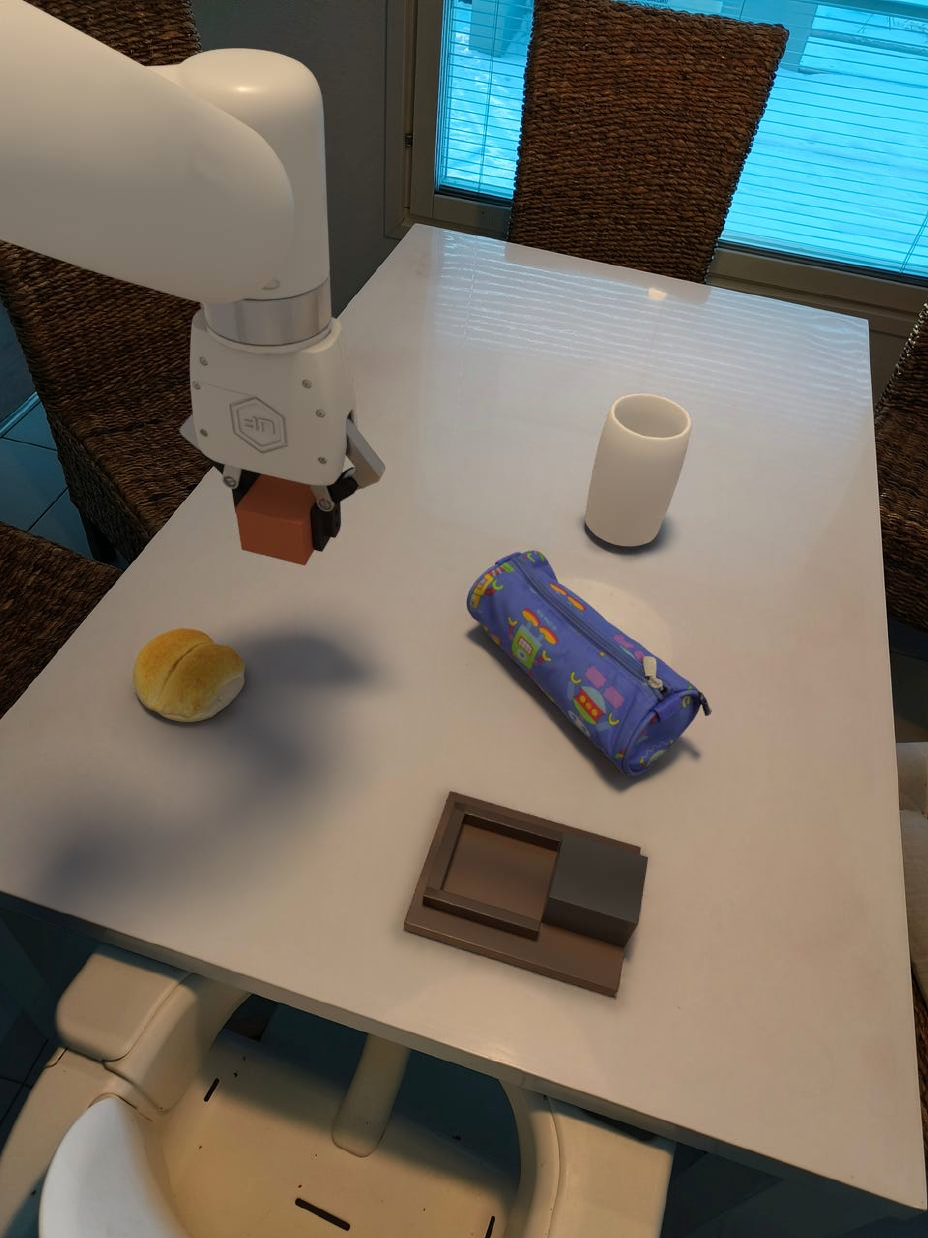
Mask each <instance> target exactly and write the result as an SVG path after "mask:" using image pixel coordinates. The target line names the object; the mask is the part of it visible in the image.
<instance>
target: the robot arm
mask: <svg viewBox="0 0 928 1238" xmlns="http://www.w3.org/2000/svg"><path fill="white" fill-rule="evenodd" d="M323 101H324V100H323V95H322V92H321V87H320V85H319V83H318V81H317V78H316V77H315V75H314V73H313V72H312V71H311V70H310V69H309V68H308V67H307V66H306V65H305V64H303V62H300V61H299V60H297V59H294V58H293V57H289V56H287V55H285V54H281V53H278V52H274V51H270V50H263V49H255V48H242V47H241V48H239V47H238V48H237V47H235V48H218V49H211V50H207V51H203V52H200V53H197V54H195V55H192V56H189V57H187V58H186V59H184V60H183V61H182V62H180V63H178V64H167V65H143V64H141V63H140V62H138V61H136V60H134V59H132V58H131V57H129V56H127V55H125V54H123V53H121V52H120V51H117V50H116V49H114V48H112V47H110V46H108V45H106V44H105V43H103V42H101V41H99V40H98V39H96V38H94V37H92V36H90V35H88V34H86V33H85V32H83V31H81V30H79V29H77V28H75V27H73V26H71V25H70V24H68V23H66V22H64V21H62V20H60V19H59V18H57V17H55V16H52V15H51V14H49V13H48V12H45V11H44V10H42V9H40V8H38V7H36V6H34V5H32V4H30V3H28V2H27V1H24V0H0V241H2V242H7V243H9V244H11V245H15V246H18V247H21V248H24V249H27V250H29V251H32V252H36V253H38V254H40V255H44V256H47V257H50V258H53V259H56V260H59V261H61V262H64V263H67V264H70V265H73V266H76V267H79V268H82V269H84V270H85V269H86V270H87V271H92V272H94V273H97V274H101V275H104V276H107V277H111V278H114V279H117V280H121V281H122V282H123V281H124V282H126V283H130V284H134V285H137V286H140V287H144V288H148V289H151V290H154V291H158V292H160V293H164V294H168V295H171V296H175V297H178V298H182V299H184V300H189V301H193V302H198V303H199V305H200V310H198V311H197V312H196V313H195V314H194V315H193V317H192V320H191V330H190V344H189V345H190V347H189V381H190V382H189V383H190V394H191V395H190V399H191V408H192V413H191V414H190V416H189V417H188V418H187V419H186V420H185V422H183V424H182V425H181V426H180V427H179V434H180V435H181V437H183V438H184V439H185V440H187V441H188V442H189V443H190V444H191V445H192V446H194V447H195V448H196V449H197V450H198V451H200V452H201V453H203V457H204V458H205V459H206V460H207V462H209V463H210V464H211V465H212V466H213V467H214V468H215V469H216V470H217V471H218V472H219V473H220V474H221V475H222V477H221V478H222V479H221V480H222V483H223V484H224V486H225V487H227V488H228V489H231V494H232V495H231V496H232V501H233V509H234V513H235V514H236V509H235V508H236V506H237V505H238V504H239V502H240V501H241V500H242V498H243V497H244V496H245V495H246V494H247V492H248V491H249V490H250V488H251V487H252V485H253V484H254V483H255V481H256V480H257V479H258V477H259V476H260V474H261V473H262V474H266V475H270V476H274V477H278V478H283V479H287V480H291V481H295V482H300V483H304V484H309V485H310V488H311V490H312V493H313V496H314V498H315V503H314V504H313V506H312V507H311V510H310V517H311V531H312V545H313V548H314V551H317V552H319V553H320V552H321V553H322V552H323V551H324V550H325V548H326V547H327V545H328V543H329V541H330V539H331V538H333V539H335V538H337V536H338V534H339V533H340V530H341V526H342V511H341V507H342V506H341V502H342V501H344V500H346V499H348V498H350V497H351V496H353V495H354V494H355V493H356V491H359V490H363V489H365V488H368V487H370V486H372V485H374V484H376V483H378V482H379V481H380V480H381V478H382V476H383V475H384V473H385V471H386V465H385V463H384V462H383V460H382V459H381V458H380V457H379V455H378V454H377V453H376V451H375V450H374V449H373V448H372V446H371V445H370V444H369V442H368V441H367V439H366V438H365V437H364V435H363V434H362V433H361V431H359V425H358V424H359V423H358V411H357V398H356V389H355V383H354V375H353V369H352V363H351V360H350V353H349V349H348V345H347V342H346V338H345V334H344V330H343V327H342V324H341V320H339V319H337V318H335V317H334V316H332V295H331V271H330V269H331V267H330V266H331V265H330V247H329V246H330V245H329V243H330V242H329V221H328V201H327V200H328V197H327V196H328V195H327V169H326V168H327V167H326V165H327V164H326V142H325V141H326V140H325V113H324V102H323ZM346 458H347V459H348V460H349V461H350V462H351V464H352V465H353V466H351V467H348V468H347V469H345V470H344V467H345V461H346ZM343 470H344V471H343Z"/></svg>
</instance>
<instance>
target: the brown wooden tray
mask: <svg viewBox="0 0 928 1238" xmlns="http://www.w3.org/2000/svg"><path fill="white" fill-rule="evenodd" d="M446 798H447V799H446V801H445V804H444V806H443V810H442V812H441V816H440V817H439V820H438V823H437V827H436V830H435V832H434V834H433V838H432V841H431V844H430V847H429V850H428V852H427V855H426V858H425V861H424V863H423V866H422V870H421V873H420V875H419V878H418V881H417V883H416V887H415V889H414V892H413V895H412V897H411V901H410V904H409V907H408V909H407V911H406V915H405V918H404V920H403V930H404V931H408V932H410V933H413V934H417V935H419V936H423V937H426V938H429V939H432V940H435V941H437V942H438V941H439V942H442V943H444V944H448V945H451V946H454V947H457V948H460V949H463V950H466V951H469V952H472V953H475V954H478V955H482V956H485V957H488V958H492V959H495V960H498V961H501V962H504V963H507V964H510V965H512V966H516V967H519V968H523V969H525V970H528V971H532V972H535V973H538V974H541V975H544V976H548V977H550V978H553V979H557V980H559V981H563V982H566V983H569V984H572V985H575V986H578V987H581V988H585V989H588V990H591V991H594V992H597V993H601V994H604V995H607V996H609V997H616V995H617V993H618V992H619V989H620V983H621V982H620V981H621V975H622V970H623V963H624V958H625V950H626V947H627V945H628V943H629V941H630V940H631V938H632V936H633V935H634V932H635V930H636V929H637V927H638V925H639V922H640V915H641V908H642V902H643V895H644V889H645V882H646V875H647V869H648V863H649V857H648V856H646V855H643V854H641V851H642V847H641V846H638V845H635V844H632V843H628V842H624V841H622V840H617V839H615V838H611V837H609V836H604V835H601V834H598V833H595V832H592V831H587V830H584V829H581V828H577V827H575V826H571V825H567V824H564V823H561V822H557V821H553V820H551V819H547V818H543V817H541V816H540V817H539V816H537V815H534V814H530V813H526V812H523V811H520V810H516V809H513V808H511V807H510V808H509V807H506V806H503V805H499V804H496V803H492V802H489V801H486V800H482V799H479V798H475V797H472V796H469V795H466V794H461V793H458V792H455V791H452V790H450V791H449V792H448V795H447V797H446Z"/></svg>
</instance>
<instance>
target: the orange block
mask: <svg viewBox="0 0 928 1238" xmlns="http://www.w3.org/2000/svg"><path fill="white" fill-rule="evenodd" d="M314 503H315V498H314V496H313V493H312V490H311V488H310V485H309V484H304V483H300V482H295V481H291V480H287V479H283V478H278V477H274V476H270V475H266V474H262V473H261V474H260V476H259V477H258V479H257V480H256V481H255V483H254V484H253V485H252V487H251V488H250V490H249V491H248V492H247V494H246V495H245V496H244V497H243V498H242V500H241V501H240V502H239V504H238V505H237V506H236V508H234V510H235V509H236V513H235V514H236V515H235V516H236V521H237V528H238V533H239V534H238V535H239V540H240V548H241V550H242V551H245V552H249V553H253V554H257V555H260V556H265V557H267V558H273V559H276V560H280V561H285V562H287V563H288V562H289V563H293V564H297V565H301V566H304V567H305V566H306V565H307V564H308V562H309V560H310V558H311V557H312V555H313V553H314V552H315V550H314V548H313V545H312V531H311V517H310V510H311V507H312V506H313V504H314Z"/></svg>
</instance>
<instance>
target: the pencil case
mask: <svg viewBox="0 0 928 1238" xmlns="http://www.w3.org/2000/svg"><path fill="white" fill-rule="evenodd" d="M465 603H466V609H467V612H468V614H469V615H470V616H471V618H472V619H473V620H475V621H476V622H478V623H479V624H480V625H481V626H482V627H483V630H484V631H485V632H486V634H487V635H488V636H489V638H491V640H493V642H495V644H496V645H497V646H498V648H500V649H501V650H502V651H503V652H505V654H506V655H507V656H508V657H509V658H510V659H511V660H512V661H514V662H515V664H517V665H518V666H519V667H520V668H521V669H522V670H523V671H524V672H525V673H526V674H527V675H528V676H529V677H530V678H531V680H533V682H534V683H535V684H536V685H537V686H538V687H539V688H540V689H541V691H542V692H543V693H544V694H545V695H546V696H547V697H548V698H549V700H551V701H552V702H553V703H554V704H555V705H556V706H557V707H558V708H559V710H560V711H561V712H562V713H563V714H564V716H565V717H566V718H567V719H568V720H569V721H570V722H571V723H572V724H573V725H574V726H575V727H576V728H577V729H578V730H579V731H580V732H581V733H582V734H584V736H585V737H586V738H588V739H589V740H590V742H592V743H593V744H594V745H595V747H597V748H598V749H601V750H602V752H603V754H604V755H605V756H606V757H607V758H608V759H609V760H611V761H612V763H613V764H614V765H615V766H616V767H617V769H618V770H619V772H620V773H622V774H624V775H627V776H628V775H629V776H638V775H641V774H643V773H645V772H647V771H648V770H649V769H650V768H652V767H653V765H654V764H655V763H657V761H658V760H659V759H660V758H661V756H662V755H663V754H664V753H666V752H667V751H668V750H669V749H670V748H672V746H674V745H675V743H677V741H678V740H679V739H680V737H681V736H682V735H683V733H684V732H685V731H687V729H688V728H689V726H690V725H691V724H692V723H693V721H694V720H695V719H696V716H697V715H698V713H699V711H700V709H701V708H702V711H703V713H704V717H708V716H710V715H711V714H712V712H713V710H712V709H711V707H710V706H709V702H708V700H707V698H706V697H705V695H704V693H703V692H702V691H700V690H699V689H698V688H697V687H696V686H695V685H694V684H693V683H692V682H690V681H689V680H688V679H686V678H684V677H683V676H681V675H680V674H679V673H678V672H677V671H675V670H674V669H673V668H672V667H671V666H669V665H668V664H667V663H666V662H665V661H664V660H662V659H661V658H659V657H658V656H656V655H654V654H653V653H652V652H651V651H649V649H647V648H646V647H645V646H643V645H642V644H641V643H640V642H638V641H637V640H635V639H633V638H631V637H630V636H629V635H627V634H626V633H624V632H623V631H622V630H621V629H620V628H618V627H617V626H615V625H614V624H612V623H611V622H609V621H608V620H607V619H606V618H605V617H604V616H603V615H602V614H601V613H599V612H598V611H597V610H596V609H595V608H594V607H593V606H592V605H590V604H589V603H588V602H587V601H586V600H584V599H583V598H582V597H580V596H579V595H578V594H577V593H576V592H574V591H572V590H571V589H569V588H568V587H567V586H565V585H563V584H562V583H559V580H558V578H557V575H556V573H555V571H554V570H553V567H552V565H551V564H550V562H549V560H548V558H547V557H546V556H545V555H544V553H542V552H541V551H539V550H533V549H532V550H527V551H524V552H520V551H516V552H513V553H510V554H508V555H506V556H503V557H502V558H500V559H498V560H496V561H495V563H494V565H492V566H491V567H489V568H487V569H486V570H485V571H484V572H482V574H480V576H478V578H477V579H476V580H475V581H474V583H473V584H472V585H471V587H470V589H469V591H468V593H467V597H466V602H465ZM701 706H702V707H701Z"/></svg>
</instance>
